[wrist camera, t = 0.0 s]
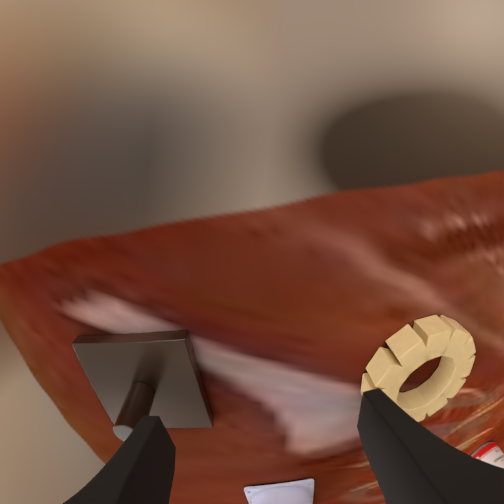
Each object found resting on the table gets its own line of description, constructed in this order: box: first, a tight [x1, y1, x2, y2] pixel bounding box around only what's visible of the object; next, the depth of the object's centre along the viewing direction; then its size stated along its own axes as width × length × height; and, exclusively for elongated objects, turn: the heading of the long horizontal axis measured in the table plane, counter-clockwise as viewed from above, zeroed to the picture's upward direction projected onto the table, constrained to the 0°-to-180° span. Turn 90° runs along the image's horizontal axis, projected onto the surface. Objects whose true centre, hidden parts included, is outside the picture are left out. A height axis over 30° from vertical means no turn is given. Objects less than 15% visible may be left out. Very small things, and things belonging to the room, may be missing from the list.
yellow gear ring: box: [361, 315, 476, 422], centre depth 20 cm, size 10×10×2 cm
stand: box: [72, 330, 214, 441], centre depth 18 cm, size 9×9×6 cm
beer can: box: [471, 442, 504, 468], centre depth 23 cm, size 6×6×16 cm
